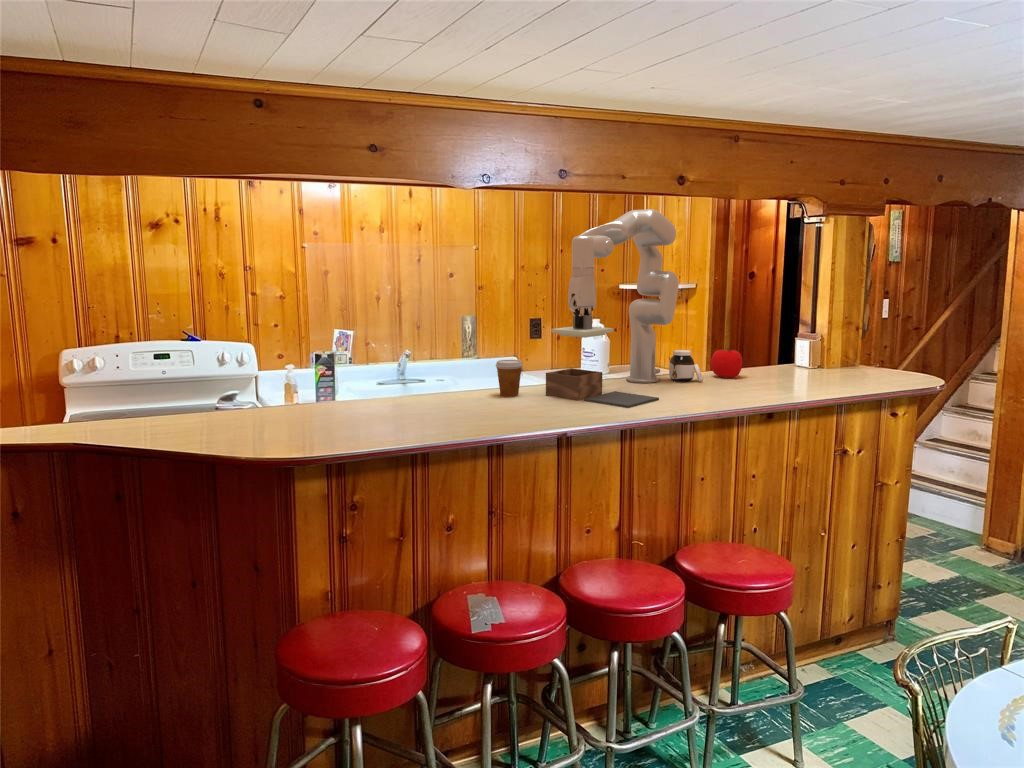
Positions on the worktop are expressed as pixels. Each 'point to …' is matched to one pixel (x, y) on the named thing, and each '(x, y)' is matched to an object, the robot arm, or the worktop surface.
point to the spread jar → (683, 367)
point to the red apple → (726, 363)
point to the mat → (621, 399)
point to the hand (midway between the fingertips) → (582, 326)
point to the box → (573, 384)
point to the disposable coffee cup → (509, 377)
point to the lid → (583, 329)
